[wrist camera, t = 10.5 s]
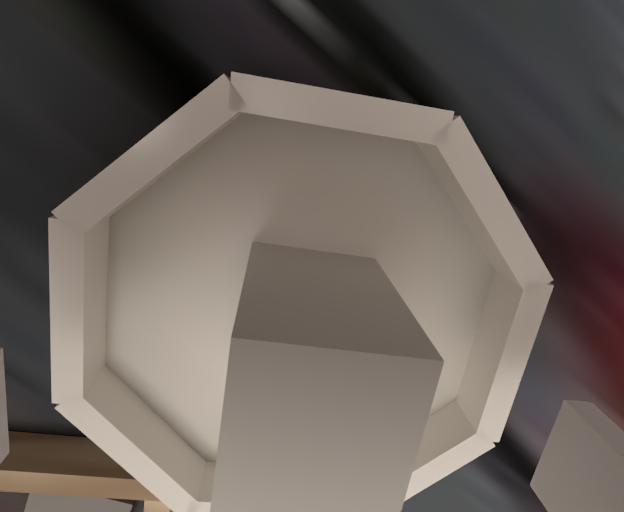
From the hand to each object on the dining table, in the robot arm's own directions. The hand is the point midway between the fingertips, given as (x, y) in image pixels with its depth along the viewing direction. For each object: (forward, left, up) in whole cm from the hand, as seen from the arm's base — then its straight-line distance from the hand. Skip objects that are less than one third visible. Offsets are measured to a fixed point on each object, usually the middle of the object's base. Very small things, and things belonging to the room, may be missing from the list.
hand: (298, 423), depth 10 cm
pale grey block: (0, 0, -6) cm, 6 cm away
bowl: (0, 0, -7) cm, 7 cm away
